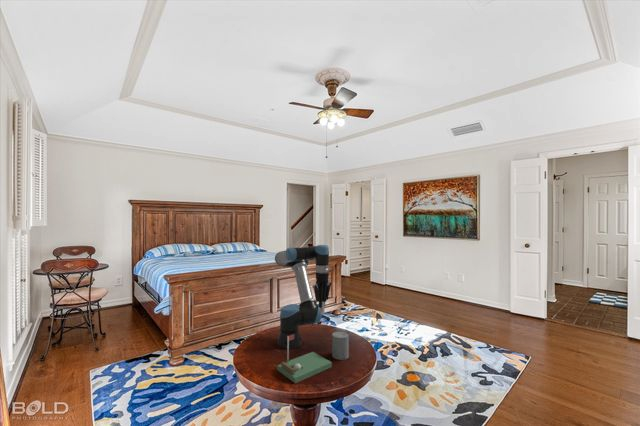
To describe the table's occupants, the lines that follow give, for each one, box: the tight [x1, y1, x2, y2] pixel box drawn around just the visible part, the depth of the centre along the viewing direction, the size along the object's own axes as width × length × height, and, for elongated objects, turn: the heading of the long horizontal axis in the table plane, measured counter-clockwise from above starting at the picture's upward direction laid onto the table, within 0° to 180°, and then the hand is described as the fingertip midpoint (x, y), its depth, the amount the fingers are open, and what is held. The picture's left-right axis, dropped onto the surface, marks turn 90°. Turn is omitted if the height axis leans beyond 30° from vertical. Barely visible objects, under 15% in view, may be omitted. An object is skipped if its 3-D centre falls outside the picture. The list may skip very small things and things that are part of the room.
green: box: [276, 334, 333, 384], centre depth 161 cm, size 16×24×16 cm, turn 130°
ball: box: [294, 363, 301, 371], centre depth 158 cm, size 4×4×4 cm
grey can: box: [331, 330, 350, 361], centre depth 175 cm, size 10×10×12 cm
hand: (321, 312), depth 176 cm, fingers closed
